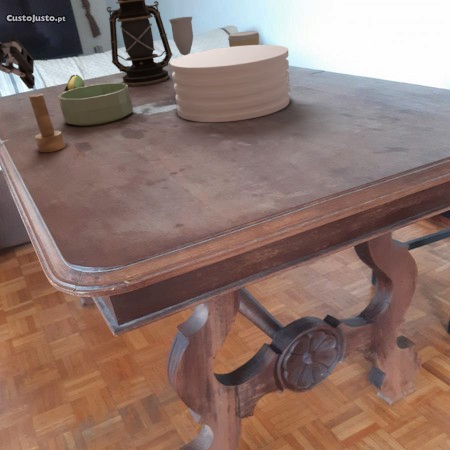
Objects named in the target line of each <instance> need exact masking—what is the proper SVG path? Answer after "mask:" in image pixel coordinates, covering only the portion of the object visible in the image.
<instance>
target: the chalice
mask: <svg viewBox="0 0 450 450" xmlns="http://www.w3.org/2000/svg"><path fill="white" fill-rule="evenodd" d="M192 21H193V16H182V17H173V18H170V19H168V22H169V23H170V26H171V32H172V33H171V34H172V39H173V42H174V44H175V46H176V48H177V50H178V52H179V54H180V55H181V56H184V55H188V54H191V51H192V46H193V41H194V30H193V24H192Z"/></svg>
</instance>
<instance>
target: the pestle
mask: <svg viewBox="0 0 450 450" xmlns="http://www.w3.org/2000/svg"><path fill="white" fill-rule="evenodd" d="M28 99H29V102H30V105H31V107H32V110H33V115H34V117H35V120H36V123H37V126H38V129H39V130H38V131H39V132H40V133H38V134H36V135H35V136H34V139H35V142H36V145H37V147H38V151H39V152H40V153H52V152H57V151H60V150H63V149H64V148H65V147H66V144H65V140H64V137H63V134H62V131H61V130H55V129H54V126H53V123H52V120H51V116H50V114H49V110H48V107H47V103H46V101H45V98H44V93H35V94H31V95H29V96H28Z"/></svg>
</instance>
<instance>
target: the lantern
mask: <svg viewBox="0 0 450 450" xmlns="http://www.w3.org/2000/svg"><path fill="white" fill-rule="evenodd" d="M115 4H118V5H119V8H117V9H112V7H111V6H107V7H106V11H107V13H109V18H108V21H109V32H110V44H111V47H110V49H111V63H112V64H113V66H115V67H116V68H117V69H118V70H119V72H120V73H121V72H122V73H125V75H123V76H122V83H125V84H127V85H128V87H141V86H149V85H156V84H159V83H162V82H165V81H167V80H169V78H170V75H169V71H168V70H167V69H164V68H165V67H168V66H169V64H170V62H171V58H172V56H173V55H174V54H173V53H172V50H171V45H170V42H169V40H168V36H167V35H168V34H167V33H166V29H165V27H164V23H163V20H162V17H161V12H160V10H159V4H160V3H159V2H158V1H157V0H154V1H153V4H151V5H148V4H146V0H117V1H116V2H115ZM151 18H154V20H155V24H156V26H157V29H158V33H159V37H160V40H161V44H162V46H163V49H164V50H163V52H162V53H161V54H157V53H154V51H156V48H155V44H154V36H153V31H152V26H153V23H151V22H150V19H151ZM117 23H120V25H119V27H120V29H121V34H122V39H123V40H122V41H123V44H124V48H125V52H124V53H126V54H127V56H128V57H126V58H124V57H123V56H121V55H119V53H118V51H119V50H118V37H117ZM164 54H165V56H164V58H163V59H162V60H161V61H158V62H156V61H155V59H156V58H159V57H162V56H163V55H164ZM119 58H121V59H122V60H124V61H126V62H131V65H124V63H121V62H120V61H119Z"/></svg>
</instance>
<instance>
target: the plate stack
mask: <svg viewBox="0 0 450 450" xmlns="http://www.w3.org/2000/svg"><path fill="white" fill-rule="evenodd" d="M288 57H289V48H288V47H286V46H282V45H276V44H259V45H247V46H235V47H230V46H228V47H220V48H212V49H207V50H201V51H195V52H191V53H189V54H188V55H181V56H178V57H176V58H174V59H172V60H170V61H169V64H170V70H171V71H172V73H171V78H172V82H173V83H174V84H173V91H174V93H175V97H174V98H175V103H176V105H177V107H176V110H177V115H178V116H179V117H180V118H181V119H183V120H187V121H191V122H192V121H193V122H200V123H226V122H227V123H228V122H238V121H244V120H250V119H255V118H259V117H263V116H268V115H271V114H274V113H276V112H279V111H281V110H283V109H285V108H286V107H287V106H288V105H289V104H290V94H289V93H290V83H289V81H290V72H289V71H288V70H289V69H290V64H289V63H290V62H289V59H288Z"/></svg>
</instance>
